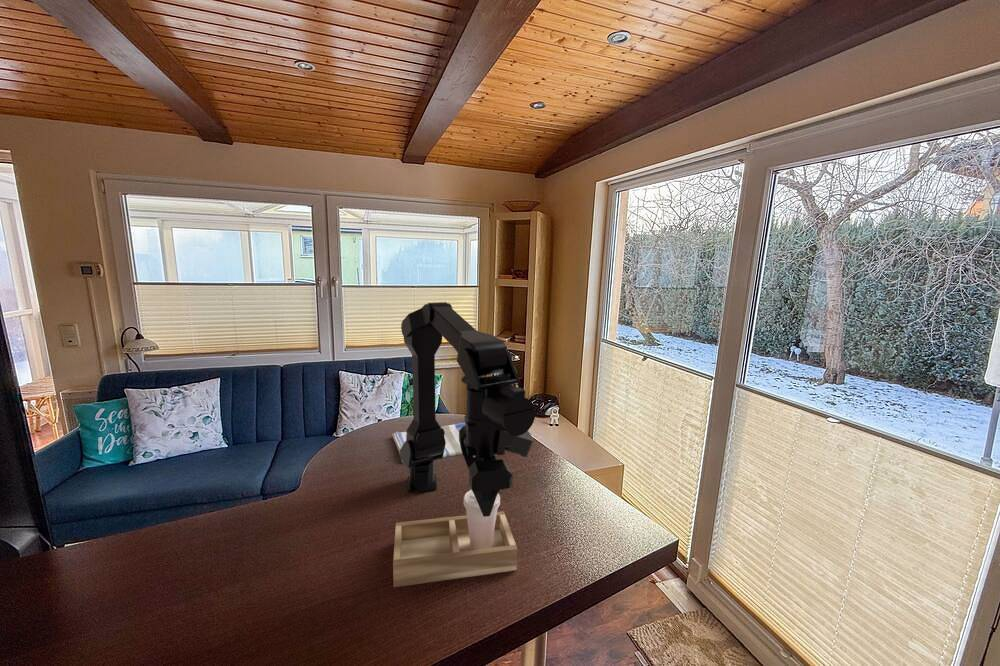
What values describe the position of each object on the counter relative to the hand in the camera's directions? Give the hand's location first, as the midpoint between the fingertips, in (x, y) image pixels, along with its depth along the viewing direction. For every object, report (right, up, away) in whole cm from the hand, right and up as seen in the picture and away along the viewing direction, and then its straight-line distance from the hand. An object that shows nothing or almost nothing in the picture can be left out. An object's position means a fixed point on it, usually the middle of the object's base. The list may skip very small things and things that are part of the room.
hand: (481, 499), depth 70 cm
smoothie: (0, -9, +2) cm, 9 cm away
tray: (-5, -10, +1) cm, 11 cm away
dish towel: (-15, -3, +45) cm, 47 cm away
